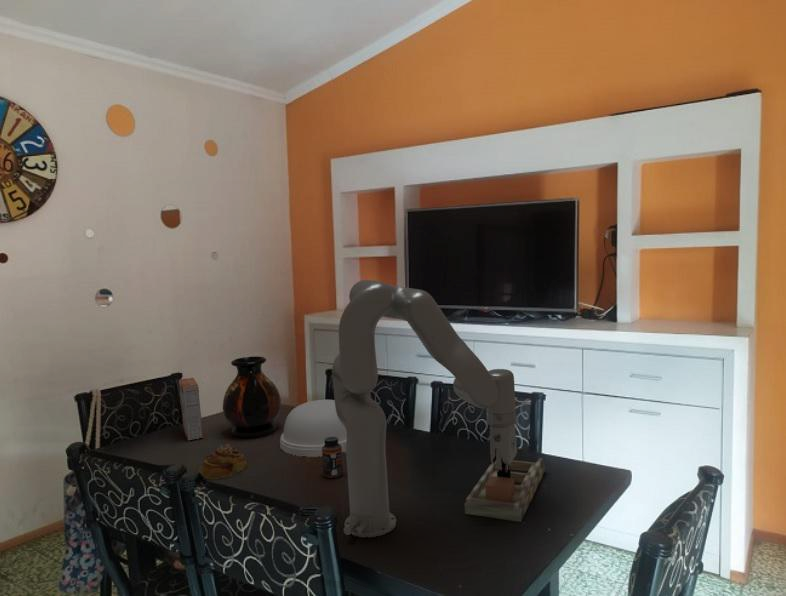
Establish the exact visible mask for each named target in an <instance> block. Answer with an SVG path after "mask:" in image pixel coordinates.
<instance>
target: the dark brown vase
mask: <svg viewBox="0 0 786 596" xmlns="http://www.w3.org/2000/svg"><path fill="white" fill-rule="evenodd" d="M266 362H267V358H266V357H264V356H258V355H257V356H254V355H253V356H245V357H244V356H243V357H239V358H236V359H233V360H232V361H231V362H230V365H232V366H233V367H236V370H237V374H236V376H235V378H234V379H233V380H232V382H230V384H229V386H228V387H227V389H226V391H225V394H224V397H223V401H222V413H223V416H224V418H225V420H226V421H227V422H228V424H229V425H231V426H232V428H231V433H232V434H233V436H236V437H238V438H241V437H245V438H247V439H249V438H250V437H252V438H258V436H259V437H263V436H267V435H269V434H271V433H272V432H274V431H275V430H276V428H277V424H276V423H275V421H276V419H277V418H278V417H279V415H280V413H281V409H282V399H281V396H280V391H279V390H278V388H277V385H276V384H274V382H273V381H272V380H271V379H270V378H269V377H268V376H266V375H265V374H264V373H263V371H262V365H263V364H264V363H266ZM245 438H244V439H245ZM250 439H251V438H250Z"/></svg>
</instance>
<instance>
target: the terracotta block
mask: <svg viewBox="0 0 786 596" xmlns="http://www.w3.org/2000/svg"><path fill="white" fill-rule="evenodd" d="M514 485H515V482H514V478H506V477H497V476H491V477H490V478H489V480H488V481H487V483H486V485H485V491H486V500H494V501H501V502H509V503H510V501H511V499H512V497H513V496H514V494H515V491H514Z"/></svg>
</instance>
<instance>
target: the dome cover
mask: <svg viewBox="0 0 786 596" xmlns="http://www.w3.org/2000/svg"><path fill="white" fill-rule="evenodd" d="M327 437H337V438H338V443H339V444H340V445H341V447H342V454H343V452H344V453H346V444H347V432H346V428H345V427H344V425H343V424H342V423H341V422H340V420H339V418H338V416H337V413H336V407H335V399H318V400H317V399H316V400H311V401H306V402H304V403H302V404H299V405H297V406H296V407H294V408H293V409H292V410H291V411H290V412H289V413H288V415H287V417H286V419H285V421H284V426H283V432H282V434H281V435H280V439H279V448H280V450H281V449H282V450H283V451H284V453H285V452H286V453H285V454H287V453H289V454H288V455H290V454H292V455H291V456H295V455H296V457H302V456H306V457H305V458H318V457H319V456H320V457H321V458H322V447H323V446H324V445H325V438H327ZM282 450H281V451H282ZM283 451H282V452H283Z"/></svg>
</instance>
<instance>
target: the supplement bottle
mask: <svg viewBox="0 0 786 596" xmlns="http://www.w3.org/2000/svg"><path fill="white" fill-rule="evenodd" d="M321 458H322V471H323V472H322V473H323V476H324V477H325V478H328V479H336V478H339V477H341V476H343V474H344V467H343V466H344V465H343V453H342V447H341V445H340V444H339V443H338V438H337V437H327V438H325V445H324V446H323V447H322V456H321Z"/></svg>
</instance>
